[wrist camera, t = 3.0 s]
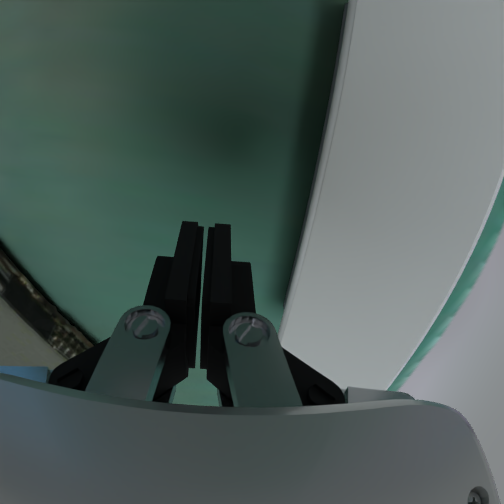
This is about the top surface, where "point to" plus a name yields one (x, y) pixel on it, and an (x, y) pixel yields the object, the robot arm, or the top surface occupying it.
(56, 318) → the network switch
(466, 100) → the panel
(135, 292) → the top surface
